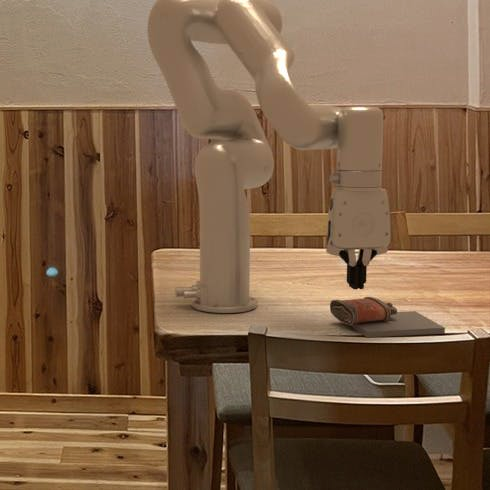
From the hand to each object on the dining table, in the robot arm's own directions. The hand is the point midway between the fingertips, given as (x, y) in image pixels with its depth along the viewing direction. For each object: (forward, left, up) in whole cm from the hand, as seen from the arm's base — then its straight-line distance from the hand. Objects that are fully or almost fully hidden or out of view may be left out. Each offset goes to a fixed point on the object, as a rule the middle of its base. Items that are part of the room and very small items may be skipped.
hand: (356, 287), depth 137 cm
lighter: (-2, +1, -5) cm, 5 cm away
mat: (+7, 0, -7) cm, 10 cm away
